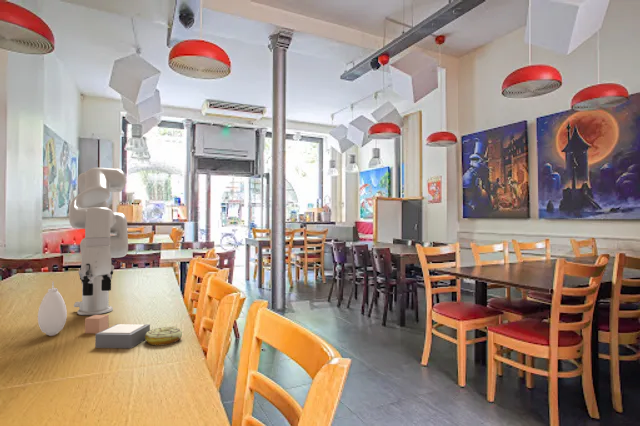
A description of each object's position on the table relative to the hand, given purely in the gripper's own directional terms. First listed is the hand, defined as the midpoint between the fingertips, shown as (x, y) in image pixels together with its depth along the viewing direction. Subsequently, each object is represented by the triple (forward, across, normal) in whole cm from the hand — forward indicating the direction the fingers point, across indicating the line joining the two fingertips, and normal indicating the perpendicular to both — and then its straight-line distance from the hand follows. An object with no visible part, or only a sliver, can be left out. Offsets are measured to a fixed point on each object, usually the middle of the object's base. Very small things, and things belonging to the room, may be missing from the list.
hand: (97, 292), depth 128 cm
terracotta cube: (+13, -1, -1) cm, 13 cm away
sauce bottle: (+13, +4, -13) cm, 19 cm away
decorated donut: (+14, +8, +27) cm, 32 cm away
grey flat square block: (+14, +10, +15) cm, 23 cm away
